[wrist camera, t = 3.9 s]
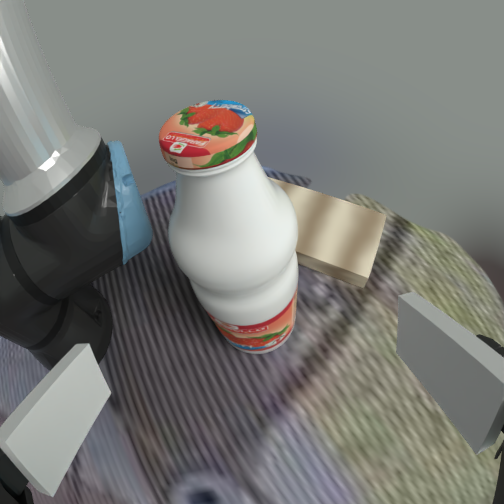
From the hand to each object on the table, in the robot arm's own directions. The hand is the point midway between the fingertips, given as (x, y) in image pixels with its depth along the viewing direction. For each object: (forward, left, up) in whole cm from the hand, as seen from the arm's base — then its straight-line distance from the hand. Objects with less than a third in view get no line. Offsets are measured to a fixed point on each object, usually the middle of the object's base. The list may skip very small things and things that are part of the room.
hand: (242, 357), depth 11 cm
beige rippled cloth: (-5, +23, -24) cm, 34 cm away
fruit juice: (-6, +8, -24) cm, 27 cm away
